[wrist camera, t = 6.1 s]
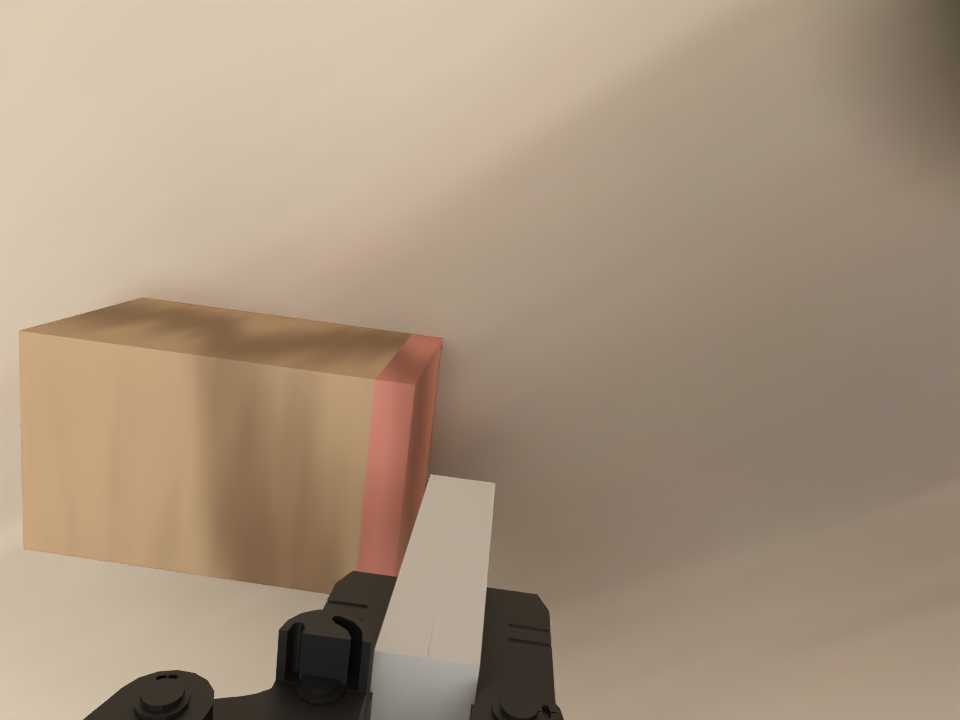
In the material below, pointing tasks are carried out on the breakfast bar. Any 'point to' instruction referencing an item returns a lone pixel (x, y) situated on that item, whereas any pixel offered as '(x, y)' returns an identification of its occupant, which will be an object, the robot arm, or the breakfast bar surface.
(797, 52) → the breakfast bar surface
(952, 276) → the breakfast bar surface
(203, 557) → the oak block
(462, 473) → the breakfast bar surface
